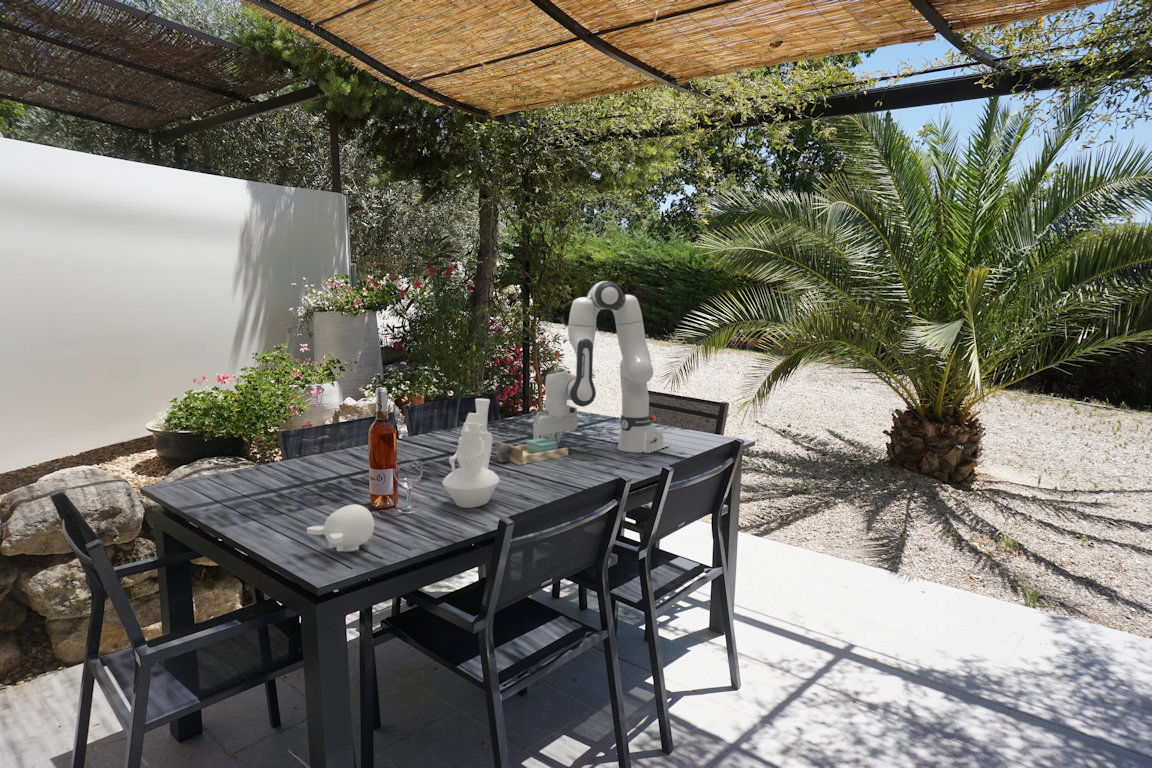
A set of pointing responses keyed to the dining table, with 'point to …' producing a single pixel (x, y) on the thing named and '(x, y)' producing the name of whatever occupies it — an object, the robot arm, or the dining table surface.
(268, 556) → the dining table surface
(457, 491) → the white sculpted vase
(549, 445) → the teal rectangular box
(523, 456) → the bay
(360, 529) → the piggy bank
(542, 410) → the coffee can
